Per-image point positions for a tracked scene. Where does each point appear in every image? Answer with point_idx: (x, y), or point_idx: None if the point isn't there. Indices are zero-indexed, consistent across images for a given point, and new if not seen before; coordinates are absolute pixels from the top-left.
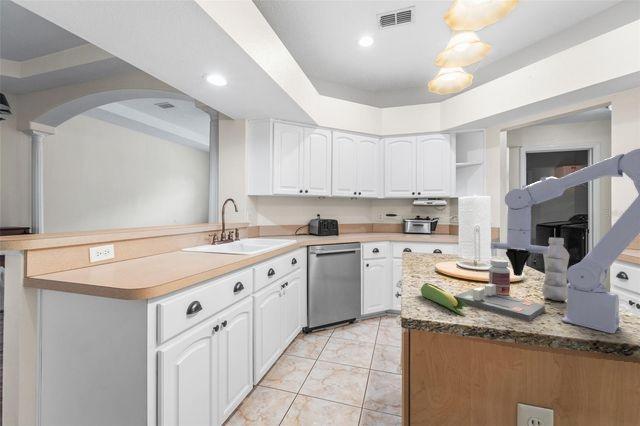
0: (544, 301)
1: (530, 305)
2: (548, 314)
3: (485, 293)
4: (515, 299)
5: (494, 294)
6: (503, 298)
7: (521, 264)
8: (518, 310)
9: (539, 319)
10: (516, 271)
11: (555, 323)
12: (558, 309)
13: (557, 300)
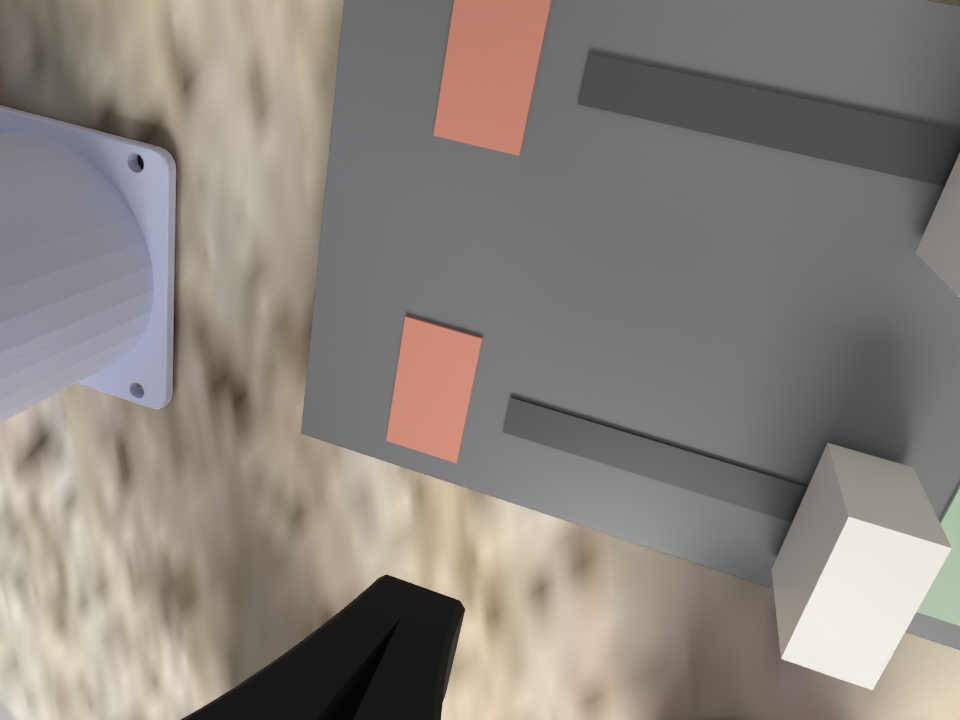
0: None
1: (400, 338)
2: (288, 307)
3: (906, 474)
4: (551, 484)
5: None
6: (673, 447)
7: (198, 710)
8: (473, 5)
9: (321, 72)
10: (391, 629)
11: (204, 51)
12: (254, 510)
13: None
